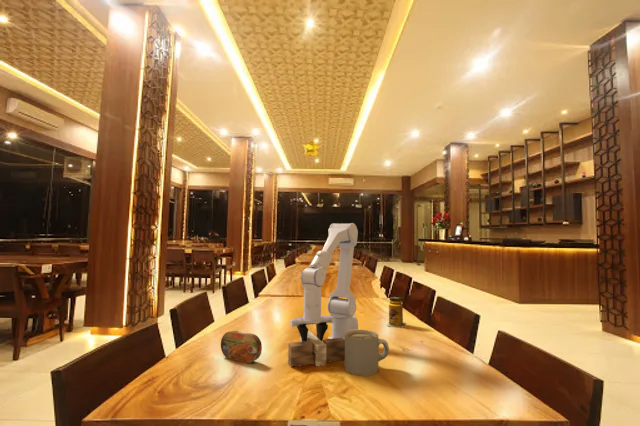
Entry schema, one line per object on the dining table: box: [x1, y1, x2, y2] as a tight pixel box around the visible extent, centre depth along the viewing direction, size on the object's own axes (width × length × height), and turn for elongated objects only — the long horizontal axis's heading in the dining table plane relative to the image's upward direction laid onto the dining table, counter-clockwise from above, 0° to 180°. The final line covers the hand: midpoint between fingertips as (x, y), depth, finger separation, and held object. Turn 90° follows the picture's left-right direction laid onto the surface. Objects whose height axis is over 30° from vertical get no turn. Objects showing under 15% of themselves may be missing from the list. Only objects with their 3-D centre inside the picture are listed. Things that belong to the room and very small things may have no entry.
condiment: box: [386, 296, 406, 328], centre depth 145 cm, size 7×8×12 cm
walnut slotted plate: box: [287, 338, 345, 368], centre depth 101 cm, size 18×3×6 cm, turn 112°
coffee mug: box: [344, 328, 390, 377], centre depth 97 cm, size 13×10×10 cm
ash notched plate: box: [299, 330, 327, 367], centre depth 105 cm, size 3×16×6 cm, turn 22°
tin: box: [220, 330, 263, 364], centre depth 102 cm, size 15×3×8 cm, turn 62°
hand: (311, 346), depth 106 cm, fingers open, 4 cm apart
